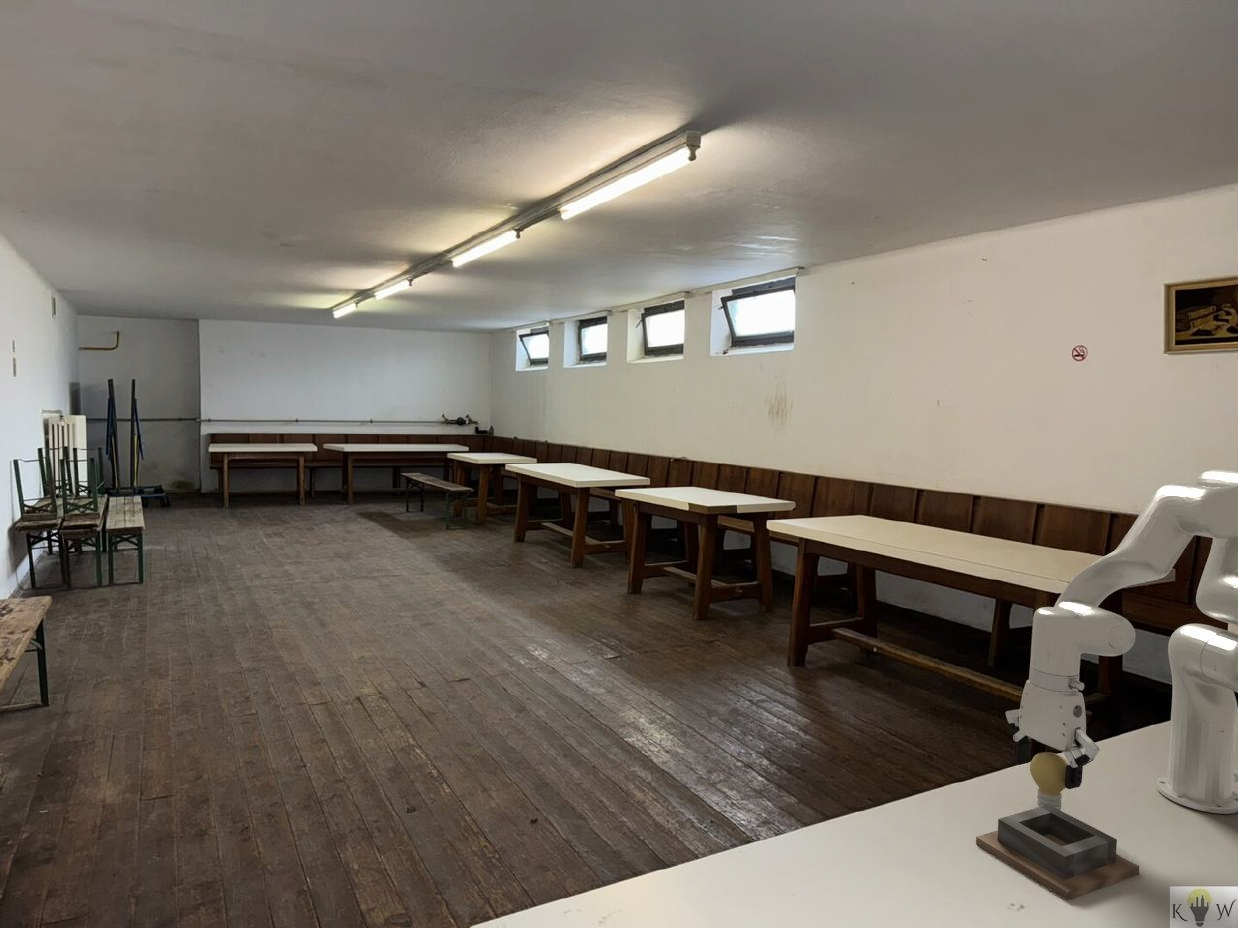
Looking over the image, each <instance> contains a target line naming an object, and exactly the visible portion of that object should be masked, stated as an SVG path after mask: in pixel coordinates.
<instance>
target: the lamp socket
mask: <svg viewBox="0 0 1238 928" xmlns="http://www.w3.org/2000/svg"><path fill="white" fill-rule="evenodd" d="M997 821H998V822H997V830H995V831H991V832H987V833H985V834H981V835H977V836H976V837H975V839H976V840H975V844H976V845H977V846H979V847H980V848H982V849H984V850H986V851H987V852H989V854H992V855H993V856H995V857H997V858H998V859H1000V860H1001V861H1003V862H1005V863H1006V864H1008V865H1009V866H1011V867H1013V868H1014V869H1016V870H1018V871H1019V872H1021V873H1022V874H1024V875H1025V876H1027V877H1029V878H1031V880H1034V881H1036V882H1037V883H1038V884H1041V885H1042V886H1044V887H1045V888H1047V889H1048V890H1050V891H1052V892H1053V893H1055V894H1057V895H1058V896H1059V897H1061V898H1063V899H1064V900H1066V901H1069V900H1072V899H1074V898H1078V897H1080V896H1083V895H1086V894H1088V893H1090V892H1093V891H1097V890H1099V889H1101V888H1105V887H1106V886H1111V885H1113V884H1115V883H1118V882H1122V881H1124V880H1126V879H1129V878H1132V877H1134V876H1138V875H1140V868H1141V867H1140V865H1138V864H1136V863H1134V862H1133V861H1130V860H1128V859H1126V858H1124V857H1123V856H1121V855H1119V854H1118V853H1117V845H1118V843H1117V842H1118V839H1117V838H1115V837H1113V836H1111V835H1109V834H1107V833H1106V832H1103V831H1101V830H1100V829H1097V828H1095V827H1093V826H1091V825H1089V824H1088V823H1086V822H1083V821H1081V820H1079V819H1077V818H1075V817H1074V816H1073V815H1070V814H1069V813H1066V812H1063V811H1062V810H1058V809H1056V808H1054V807H1052V806H1050V805H1045V806H1041V807H1039V806H1038V807H1035V808H1031V809H1028V810H1025V811H1021V812H1018V813H1014V814H1010V815H1007V816H1004V817H1000V818H998V820H997Z"/></svg>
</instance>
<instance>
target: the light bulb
mask: <svg viewBox="0 0 1238 928" xmlns="http://www.w3.org/2000/svg"><path fill="white" fill-rule="evenodd" d="M1067 765H1070V764H1069V762H1068V761H1067V759H1065V758H1064V757H1062V756H1061V755H1059V754H1057V753H1054V752H1048V751H1045V752H1039V753H1037V754H1035V755H1033V757H1032V758H1031V761H1030V763H1029V771H1030V775H1031V777H1032V779H1033V781H1034V783H1035V784H1036V785H1037V787H1038V789H1037V795H1036V797H1037V799H1036V804H1037V806H1038V807H1041V806H1045V805H1050V806H1052V807H1054V808H1056V809H1058V810H1060V811H1062V797H1063V796H1062V795H1063V794H1062V791H1063V790H1065V789H1067V788H1066V787H1065V773H1066V766H1067Z"/></svg>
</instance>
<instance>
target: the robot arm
mask: <svg viewBox="0 0 1238 928" xmlns="http://www.w3.org/2000/svg"><path fill="white" fill-rule="evenodd" d="M1137 516H1138V517H1137V518H1136V520H1135V521H1134V523H1132V525H1131V527H1130V529H1129V530H1128V532H1127V533H1126V534H1125V535H1124V537H1123V538H1122V540H1121V542H1120V543H1119V545H1118V546H1117V547H1116V549H1115V550H1114V551H1112V552H1110V553H1108V554H1106V555H1104V556H1102V557H1101V558H1099V559H1097V560H1095V561H1094V562H1093V563H1091V564H1090V565H1088V566H1086V567H1085V568H1083V569H1081V570H1080V571H1079V572H1078V573H1076V574H1075V575H1074V577H1073V578H1072V579H1071V580H1070V581H1069V582H1068V583H1067V585H1066V587H1065V588H1064V590H1063V591H1062V592H1061V594H1060V595H1059V596H1058V598H1057V600H1056V602H1055V604H1054V606H1053V607H1052V606H1046V607H1045V606H1044V607H1039V608H1038V609H1036V610H1035V611H1034V613H1033V618H1032V619H1033V621H1032V630H1031V632H1032V633H1031V647H1030V664H1029V674H1028V675H1029V676H1028V677H1029V678H1028V679H1027V680H1026V681H1025V684H1024V688H1023V691H1022V695H1021V699H1020V705H1019V708H1018V709H1012V710H1007V711H1005V717H1006V721H1007V723H1008V728H1009V730H1010V731H1011V733H1012V735H1013V736H1012V738H1013V741H1014V742H1015V754H1014V755H1015V758H1014V759H1015V761H1014V762H1015V763H1014V764H1016V765H1017V766H1020V765H1026V764H1031V761H1032V747H1033V746H1032V744H1033V743H1032V740H1035V741H1036V742H1038V743H1041V744H1042V745H1046V746H1048V747H1050V748H1053V749H1055V750H1057V751H1059V752H1062V753H1063V755H1064V756H1065V758H1066V761H1067V763H1068V764H1069V765H1067V766H1066V773H1065V787H1066V788H1065V789H1067V790H1072V789H1077V788H1079V787H1081V786H1082V782H1083V770H1084V766H1086V765H1088V764H1090V763H1091V762H1093V761H1094V760H1095V758H1096V756H1097V755H1098V753H1100V750H1101V749H1100V746H1098V744H1096V743H1095V742H1094V741H1093V740H1092V739H1091V738H1090V737H1089V736H1088V735H1087V716H1086V715H1087V714H1086V705H1085V700H1084V695H1083V693H1082V692H1080V691H1083V690H1084V689H1085V684H1084V682H1081V681H1080V668H1081V667H1080V666H1081V657H1082V654H1090V655H1095V656H1097V655H1098V656H1103V657H1117V656H1121V655H1123V654H1125V653H1127V652H1128V651H1130V650H1131V649H1132V648H1133V646H1134V645H1135V643H1136V636H1137V635H1136V631H1135V628H1134V626H1133V625H1132V623H1131V622H1130V621H1129V620H1128V619H1126V618H1125V617H1123V616H1122V615H1121V614H1117V613H1115V612H1112V611H1109V610H1106V609H1104V608H1101V607H1099V605H1101V604H1102V602H1103V601H1104V600H1105V599H1106V598H1107V597H1108V596H1109V595H1111V594H1113V593H1114V592H1116V591H1118V590H1120V589H1122V588H1126V587H1129V586H1133V585H1139V584H1142V583H1143V584H1144V583H1148V582H1153V581H1156V580H1160V579H1163V578H1165V577H1167V576H1168V575H1169V573H1170V572H1171V570H1173V567H1174V566H1175V564H1176V563H1177V561H1178V559H1179V558H1180V557H1181V555H1182V554H1183V553H1184V550H1185V549H1186V548H1187V546H1188V544H1189V543H1190V542H1191V540H1192V539H1193V537H1194V536H1200V537H1206V538H1209V539H1210V538H1212V543H1211V546H1210V547H1211V548H1210V550H1209V554H1208V558H1207V560H1206V563H1205V566H1204V569H1203V571H1202V574H1201V578H1200V581H1199V583H1198V587H1197V590H1196V596H1195V603H1196V606H1197V609H1199V611H1200V612H1202V613H1203V614H1204V615H1206V616H1208V617H1210V618H1212V619H1215V620H1218V621H1220V622H1224V623H1227V624H1230V625H1233V626H1235V627H1236V626H1237V627H1238V469H1235V468H1214V469H1209V470H1206V471H1204V472H1202V473H1200V474H1199V476H1198V477H1197V479H1196V481H1195V484H1188V483H1187V484H1183V483H1171V484H1166V485H1163V486H1161V487H1159V488H1158V489H1157V490H1156V491H1155V492H1154V493H1153V494H1152V495H1151V497H1150V498H1149V500H1148V501H1147V502H1146V505H1145V506H1144V507H1143V509H1142V510H1141V511H1140V513H1139V514H1138V515H1137ZM1167 655H1168V656H1167V657H1168V660H1169V662H1168V663H1169V666H1170V672H1171V681H1172V697H1171V712H1170V729H1169V730H1170V732H1169V746H1168V747H1169V749H1168V751H1169V753H1168V766H1167V768H1168V769H1167V775H1164V776H1162V777H1159V778H1158V779H1157V783H1156V787H1157V790H1158V791H1159V792H1160V794H1162V796H1164V797H1165V798H1167V799H1169V800H1170V801H1171V802H1175V803H1176V804H1178V805H1181V806H1184V807H1187V808H1190V809H1194V810H1197V811H1201V812H1206V813H1212V814H1219V815H1220V814H1222V815H1223V814H1224V815H1225V814H1226V815H1227V814H1237V813H1238V793H1236V792H1235V791H1234V785H1235V783H1238V770H1237V769H1235V762H1236V761H1235V759H1236V757H1235V756H1236V744H1237V743H1236V741H1237V727H1238V725H1237V724H1238V702H1237V698H1236V695H1235V693H1237V694H1238V633H1235V632H1233V631H1229V630H1226V629H1222V628H1219V627H1217V626H1216V627H1215V626H1213V625H1209V624H1203V623H1188V624H1184V625H1182V626H1180V627H1178V628H1177V629H1175V630H1174V632H1173V633H1172V634H1171V636H1170V637H1169V640H1168V646H1167ZM1030 739H1032V740H1030ZM1081 749H1082V750H1083V749H1085V751H1084V752H1082V750H1081Z"/></svg>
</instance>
